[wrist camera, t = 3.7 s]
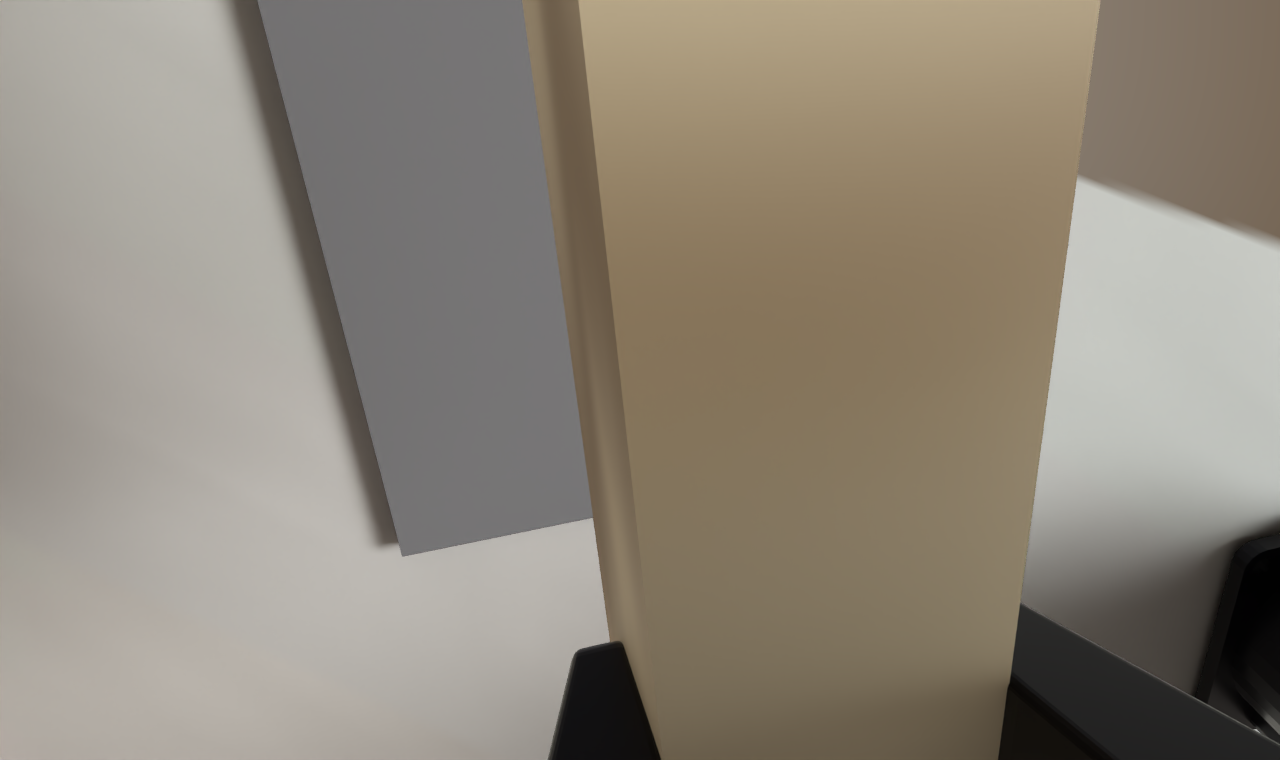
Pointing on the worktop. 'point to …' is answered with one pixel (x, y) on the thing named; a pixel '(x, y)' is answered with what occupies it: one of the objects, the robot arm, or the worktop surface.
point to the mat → (439, 255)
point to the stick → (813, 349)
